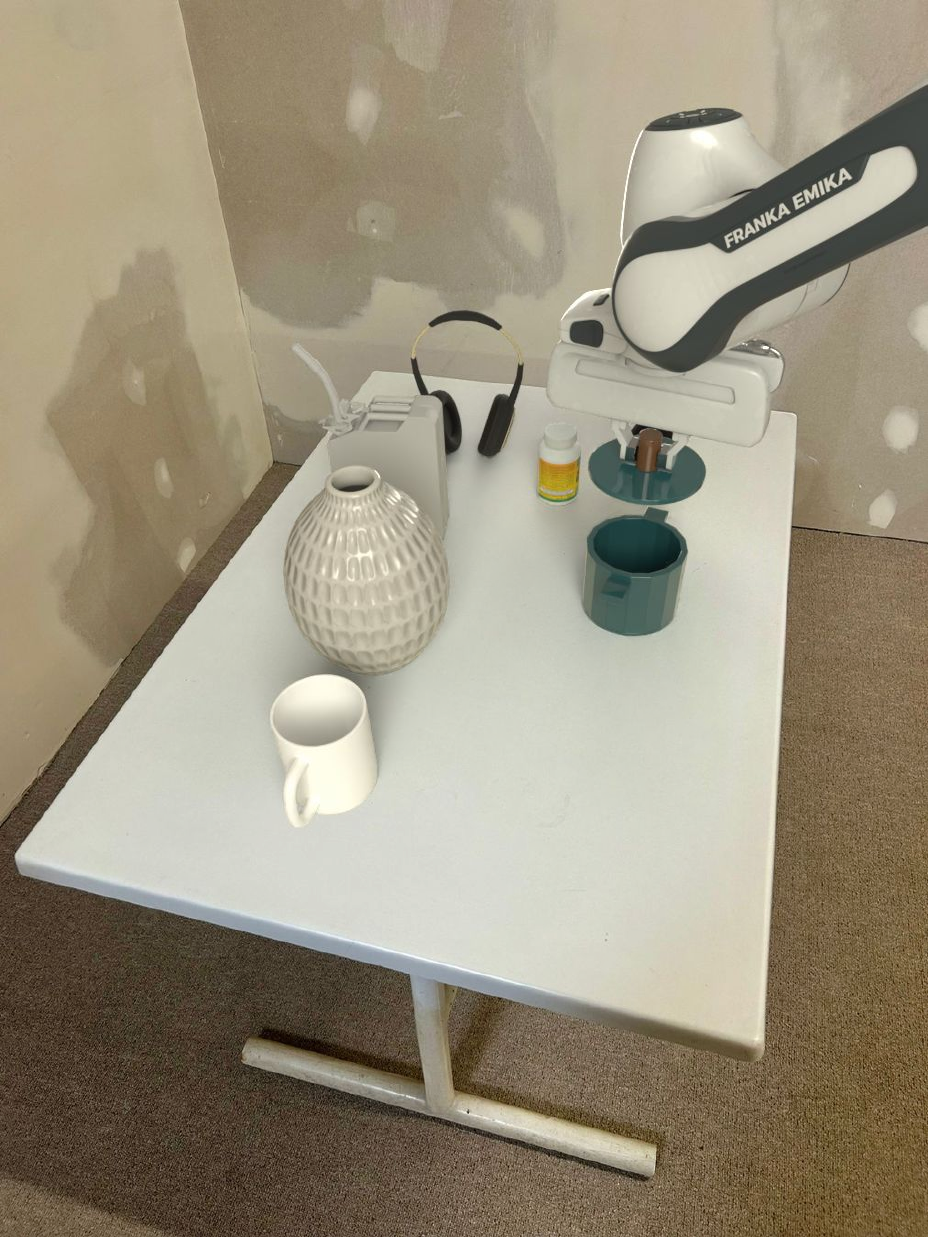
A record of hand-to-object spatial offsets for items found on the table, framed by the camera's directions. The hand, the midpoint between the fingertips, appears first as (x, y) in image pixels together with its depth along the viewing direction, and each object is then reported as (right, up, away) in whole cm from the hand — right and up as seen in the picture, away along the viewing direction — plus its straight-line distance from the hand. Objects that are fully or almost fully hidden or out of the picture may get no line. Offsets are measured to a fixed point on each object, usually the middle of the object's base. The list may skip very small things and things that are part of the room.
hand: (647, 461), depth 83 cm
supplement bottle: (-6, +1, +29) cm, 30 cm away
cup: (-30, -32, -3) cm, 44 cm away
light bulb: (+6, +2, +29) cm, 30 cm away
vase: (-27, -19, +10) cm, 34 cm away
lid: (0, -1, +1) cm, 1 cm away
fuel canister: (-27, -4, +25) cm, 37 cm away
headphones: (-17, +8, +37) cm, 42 cm away
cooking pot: (+1, -13, +14) cm, 19 cm away
